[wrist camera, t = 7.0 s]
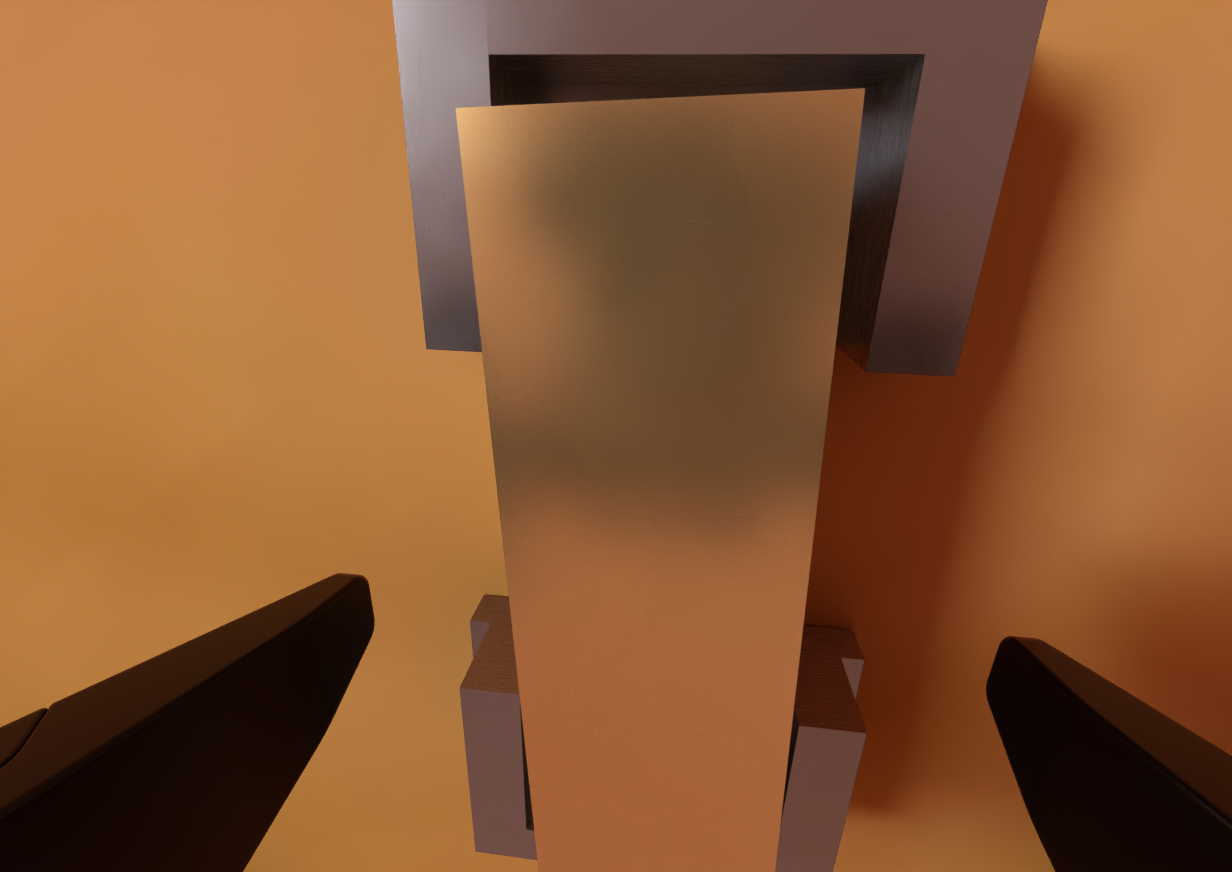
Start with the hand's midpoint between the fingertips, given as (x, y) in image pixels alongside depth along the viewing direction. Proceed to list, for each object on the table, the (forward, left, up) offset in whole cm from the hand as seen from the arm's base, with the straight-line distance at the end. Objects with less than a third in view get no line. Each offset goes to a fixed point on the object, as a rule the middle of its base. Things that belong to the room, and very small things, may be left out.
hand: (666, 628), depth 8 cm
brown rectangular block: (0, 0, -4) cm, 4 cm away
